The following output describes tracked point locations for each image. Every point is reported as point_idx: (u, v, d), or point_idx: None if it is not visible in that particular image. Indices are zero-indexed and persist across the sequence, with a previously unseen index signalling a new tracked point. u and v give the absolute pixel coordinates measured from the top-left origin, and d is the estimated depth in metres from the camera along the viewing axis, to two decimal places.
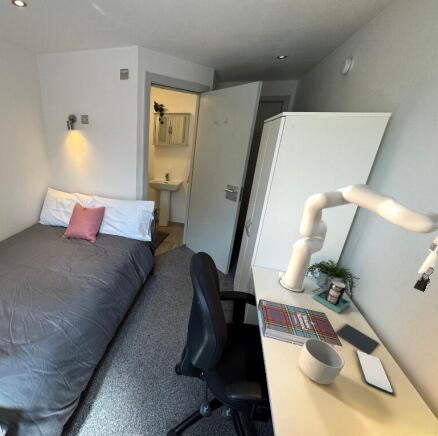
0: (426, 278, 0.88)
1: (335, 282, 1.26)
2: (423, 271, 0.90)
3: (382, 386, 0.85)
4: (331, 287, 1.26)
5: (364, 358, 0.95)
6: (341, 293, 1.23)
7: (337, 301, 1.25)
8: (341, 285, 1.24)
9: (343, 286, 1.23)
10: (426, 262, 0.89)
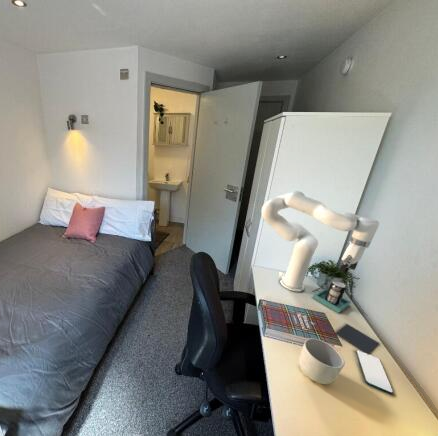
0: (345, 263, 1.14)
1: (335, 282, 1.26)
2: (344, 258, 1.17)
3: (382, 386, 0.85)
4: (331, 287, 1.26)
5: (364, 358, 0.95)
6: (341, 293, 1.23)
7: (337, 301, 1.25)
8: (341, 285, 1.24)
9: (343, 286, 1.23)
10: (346, 251, 1.16)
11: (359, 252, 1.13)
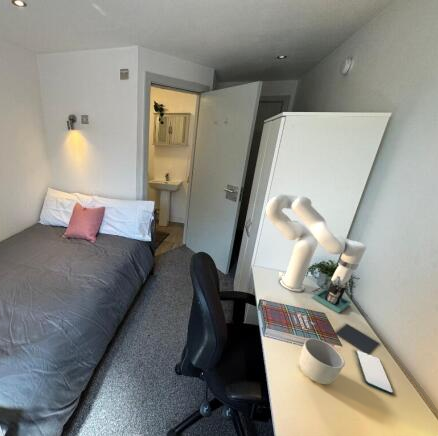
0: (334, 285, 1.20)
1: None
2: (333, 280, 1.22)
3: (382, 386, 0.85)
4: None
5: (364, 358, 0.95)
6: (341, 293, 1.23)
7: (337, 301, 1.25)
8: (341, 285, 1.24)
9: (343, 286, 1.23)
10: (335, 272, 1.21)
11: (347, 274, 1.18)
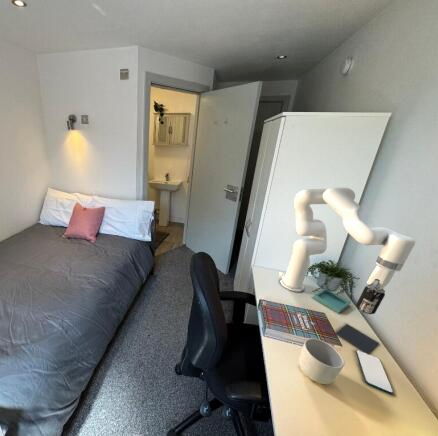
0: (372, 290, 0.95)
1: None
2: (370, 283, 0.97)
3: (382, 386, 0.85)
4: None
5: (364, 358, 0.95)
6: (379, 300, 0.98)
7: (374, 310, 1.00)
8: (379, 290, 0.99)
9: (382, 291, 0.98)
10: (372, 274, 0.96)
11: (389, 276, 0.93)
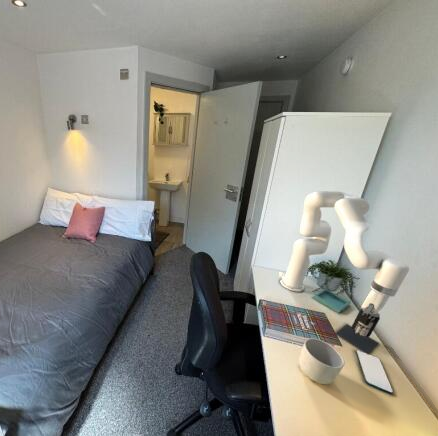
0: (366, 314, 0.96)
1: None
2: (365, 307, 0.98)
3: (382, 386, 0.85)
4: None
5: (364, 358, 0.95)
6: (374, 324, 0.99)
7: (369, 333, 1.00)
8: None
9: (377, 315, 0.99)
10: (367, 298, 0.97)
11: (384, 301, 0.94)
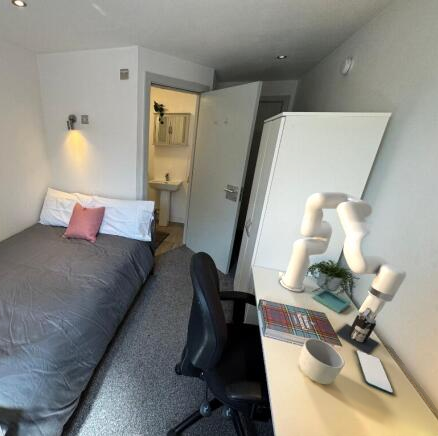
0: (363, 318, 0.96)
1: None
2: (362, 311, 0.99)
3: (382, 386, 0.85)
4: None
5: (364, 358, 0.95)
6: (370, 330, 1.00)
7: (365, 339, 1.02)
8: (370, 320, 1.01)
9: (373, 321, 1.00)
10: (364, 303, 0.98)
11: (381, 306, 0.95)
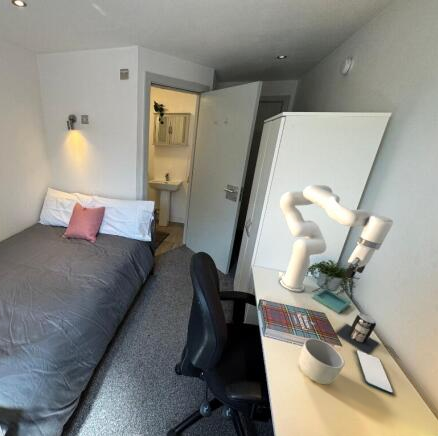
0: (352, 266, 1.02)
1: (362, 315, 1.03)
2: (351, 260, 1.04)
3: (382, 386, 0.85)
4: (357, 321, 1.03)
5: (364, 358, 0.95)
6: (370, 330, 1.00)
7: (365, 339, 1.02)
8: (370, 320, 1.01)
9: (373, 321, 1.00)
10: (353, 253, 1.03)
11: (368, 254, 1.00)
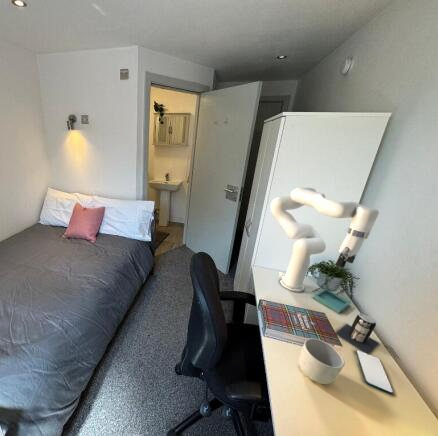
0: (342, 256, 1.07)
1: (362, 315, 1.03)
2: (341, 250, 1.09)
3: (382, 386, 0.85)
4: (357, 321, 1.03)
5: (364, 358, 0.95)
6: (370, 330, 1.00)
7: (365, 339, 1.02)
8: (370, 320, 1.01)
9: (373, 321, 1.00)
10: (343, 243, 1.08)
11: (357, 244, 1.05)
